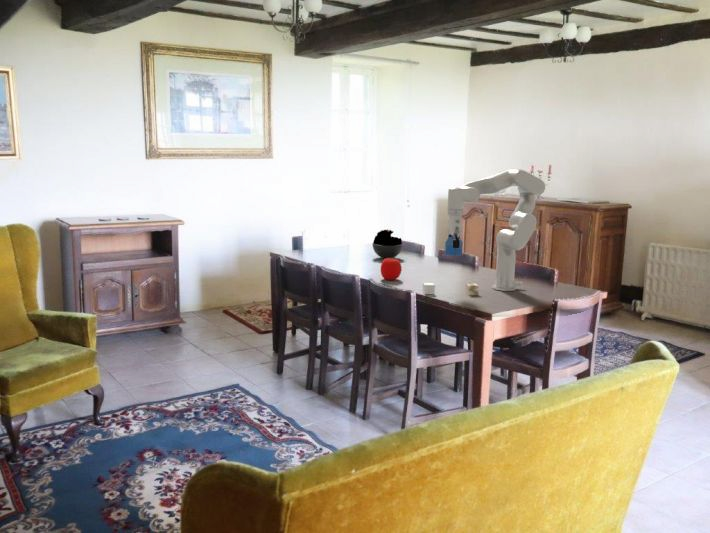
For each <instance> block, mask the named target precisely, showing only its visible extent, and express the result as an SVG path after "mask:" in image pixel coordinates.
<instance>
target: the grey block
mask: <svg viewBox="0 0 710 533" xmlns="http://www.w3.org/2000/svg"><path fill="white" fill-rule="evenodd" d="M435 285H436V284H434V282H423V283H422V293H423V295H425V294H435V293H436V292H435V291H436V286H435Z"/></svg>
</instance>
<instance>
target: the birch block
mask: <svg viewBox="0 0 710 533" xmlns="http://www.w3.org/2000/svg"><path fill="white" fill-rule="evenodd" d="M466 293H467V294H466ZM465 294H466V295H467V296H479V284H477V283H465Z"/></svg>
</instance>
